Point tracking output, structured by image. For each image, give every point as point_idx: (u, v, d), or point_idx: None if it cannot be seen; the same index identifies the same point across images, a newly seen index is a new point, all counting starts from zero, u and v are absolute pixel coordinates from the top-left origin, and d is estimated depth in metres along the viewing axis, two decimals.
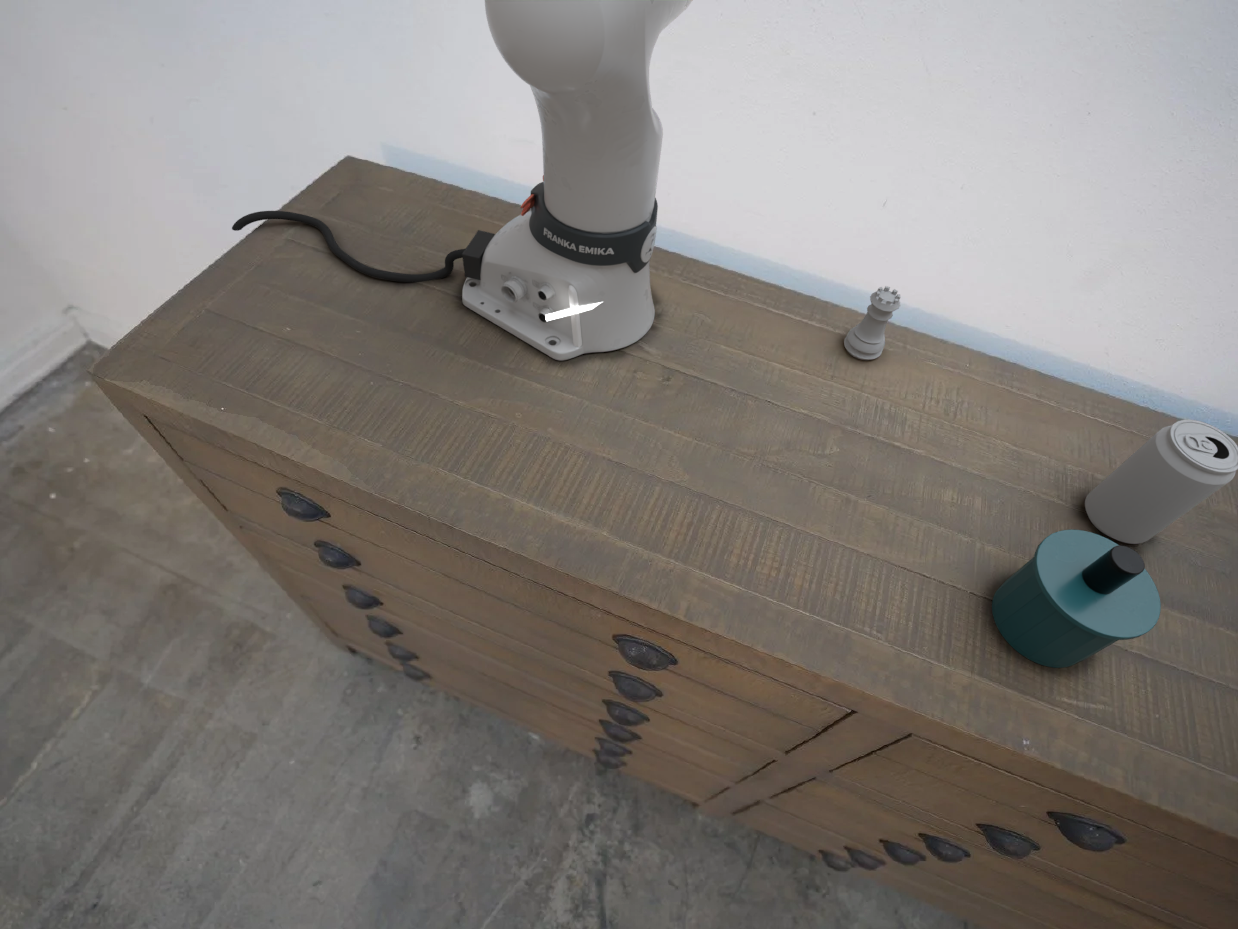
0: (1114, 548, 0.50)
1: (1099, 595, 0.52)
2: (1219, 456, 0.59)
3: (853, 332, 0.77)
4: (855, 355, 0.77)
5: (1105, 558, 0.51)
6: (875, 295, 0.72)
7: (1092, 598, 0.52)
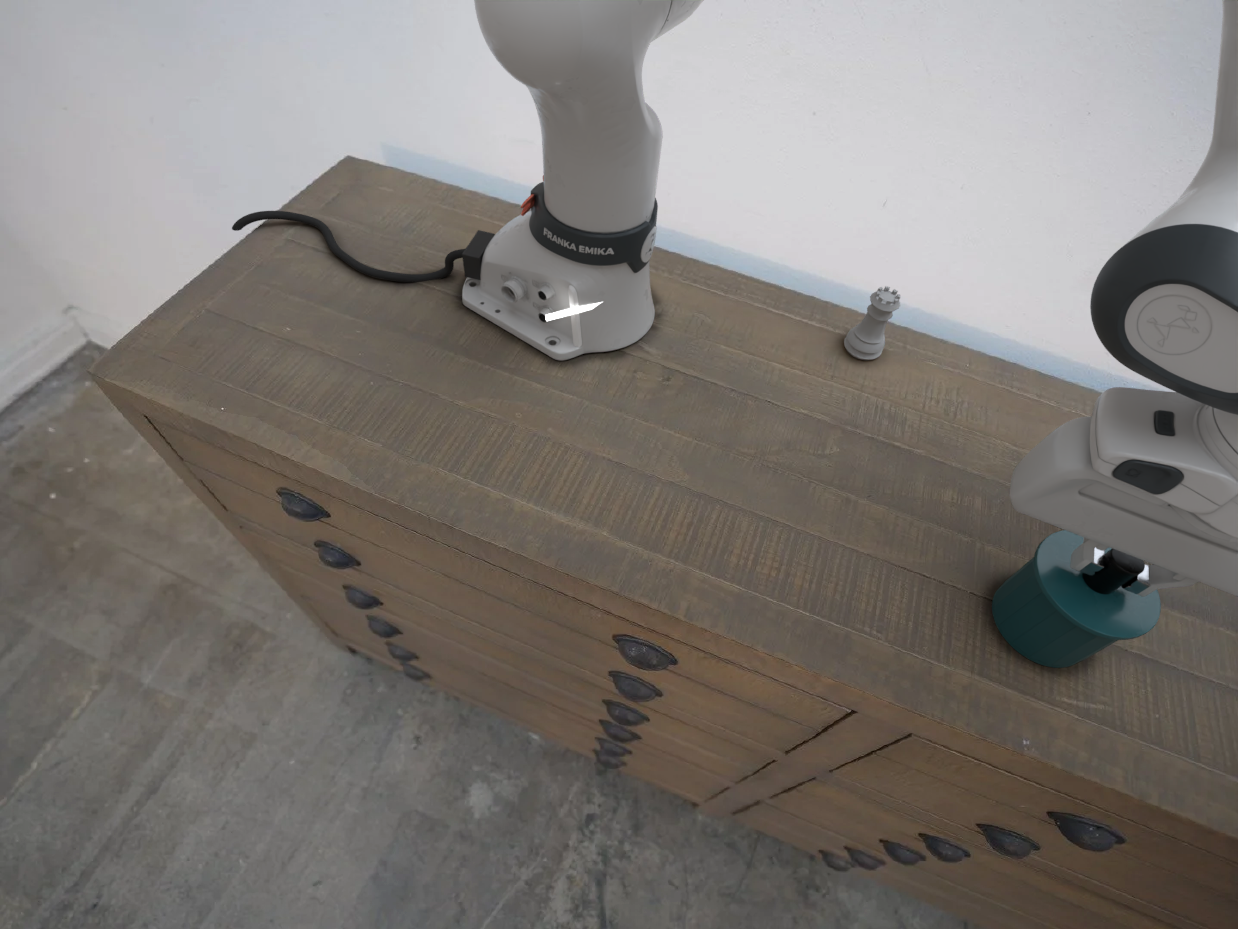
0: None
1: (1099, 595, 0.52)
2: None
3: (853, 332, 0.77)
4: (855, 355, 0.77)
5: (1105, 558, 0.51)
6: (875, 295, 0.72)
7: (1092, 598, 0.52)
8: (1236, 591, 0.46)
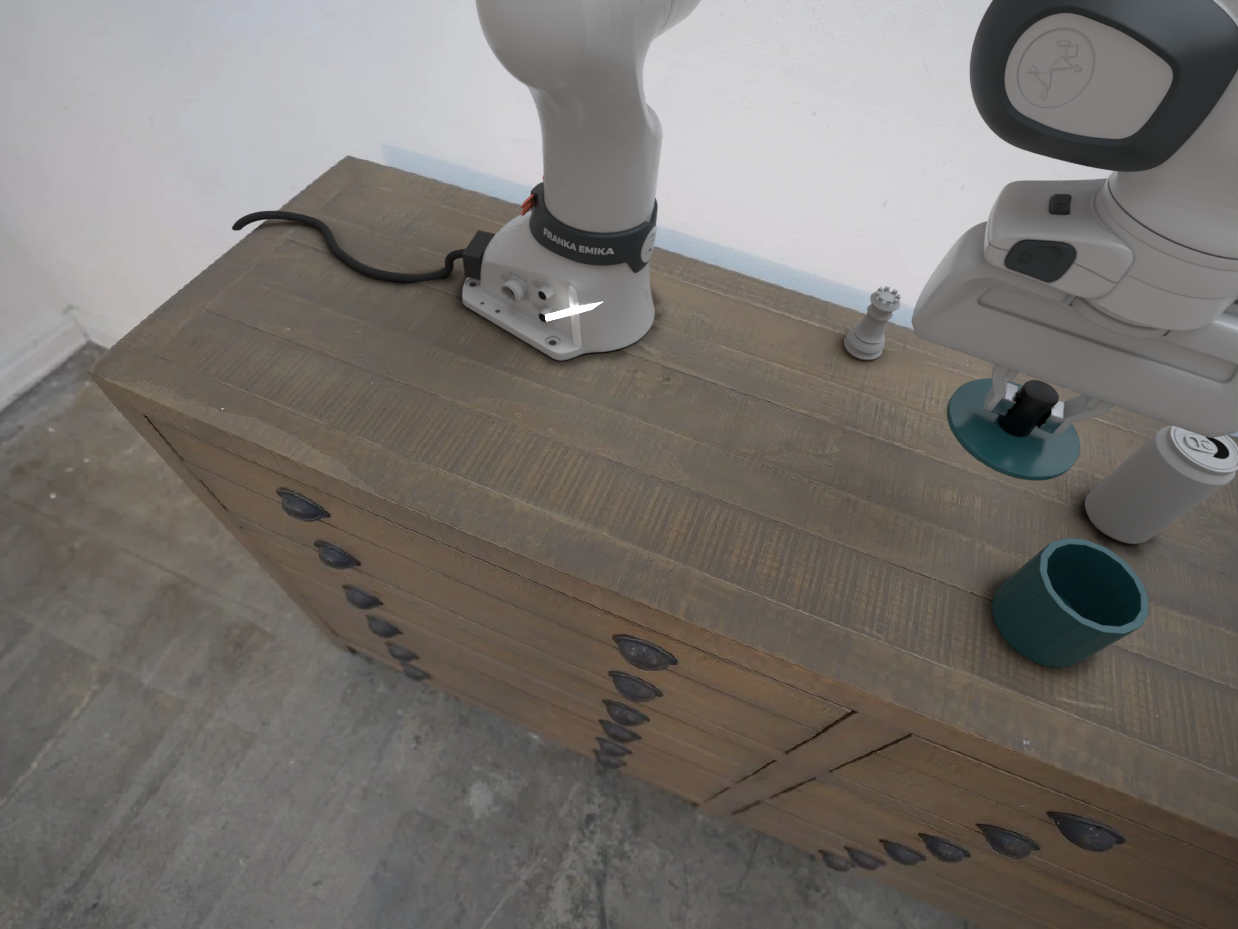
0: (1027, 382, 0.47)
1: (1014, 438, 0.48)
2: (1219, 456, 0.59)
3: (853, 332, 0.77)
4: (855, 355, 0.77)
5: (1018, 394, 0.47)
6: (875, 295, 0.72)
7: (1006, 440, 0.48)
8: (1149, 410, 0.42)
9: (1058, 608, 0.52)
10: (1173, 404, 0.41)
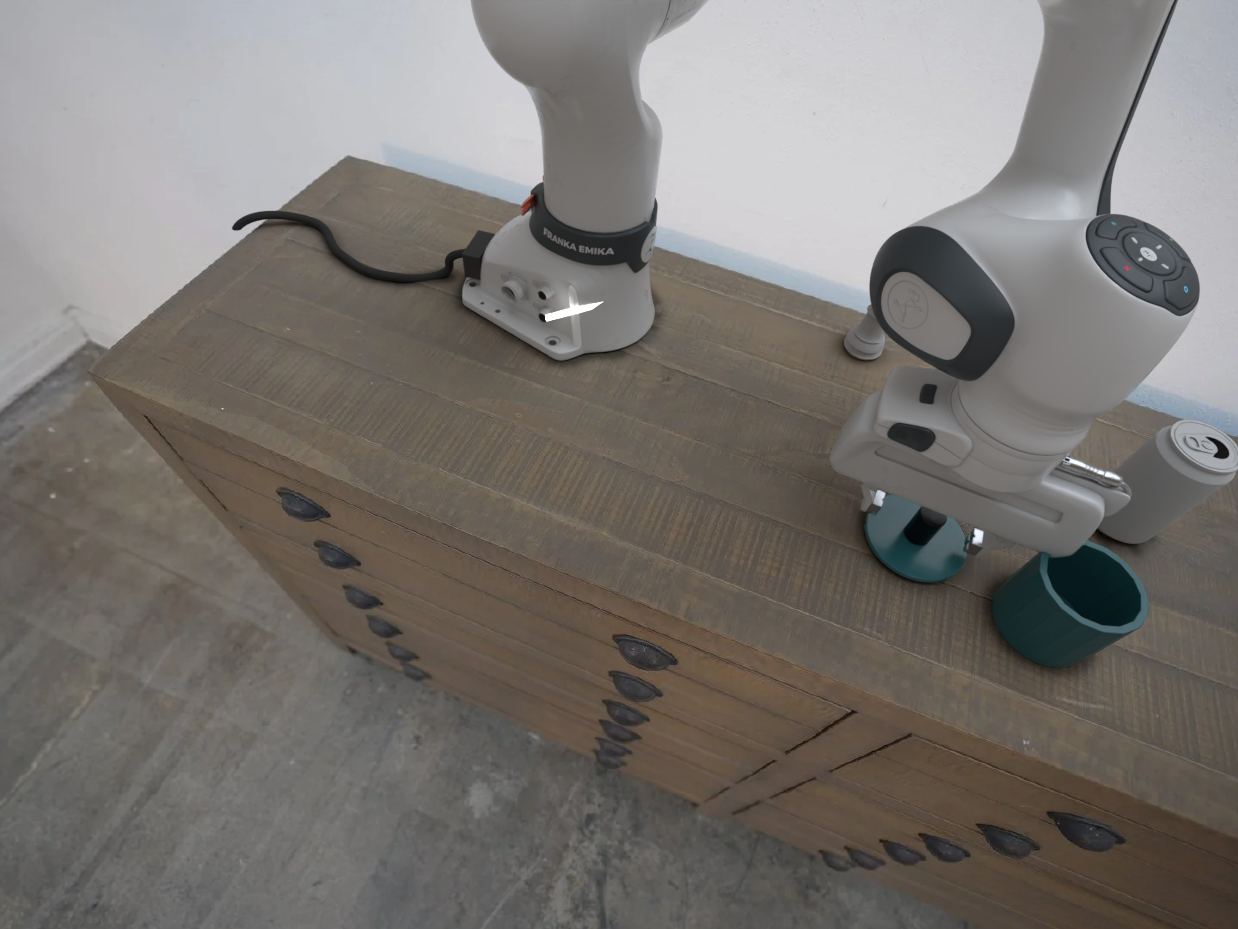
0: None
1: (915, 546, 0.62)
2: (1219, 456, 0.59)
3: (853, 332, 0.77)
4: (855, 355, 0.77)
5: (916, 514, 0.60)
6: None
7: (909, 548, 0.61)
8: (1006, 536, 0.55)
9: (1058, 608, 0.52)
10: (1022, 533, 0.54)
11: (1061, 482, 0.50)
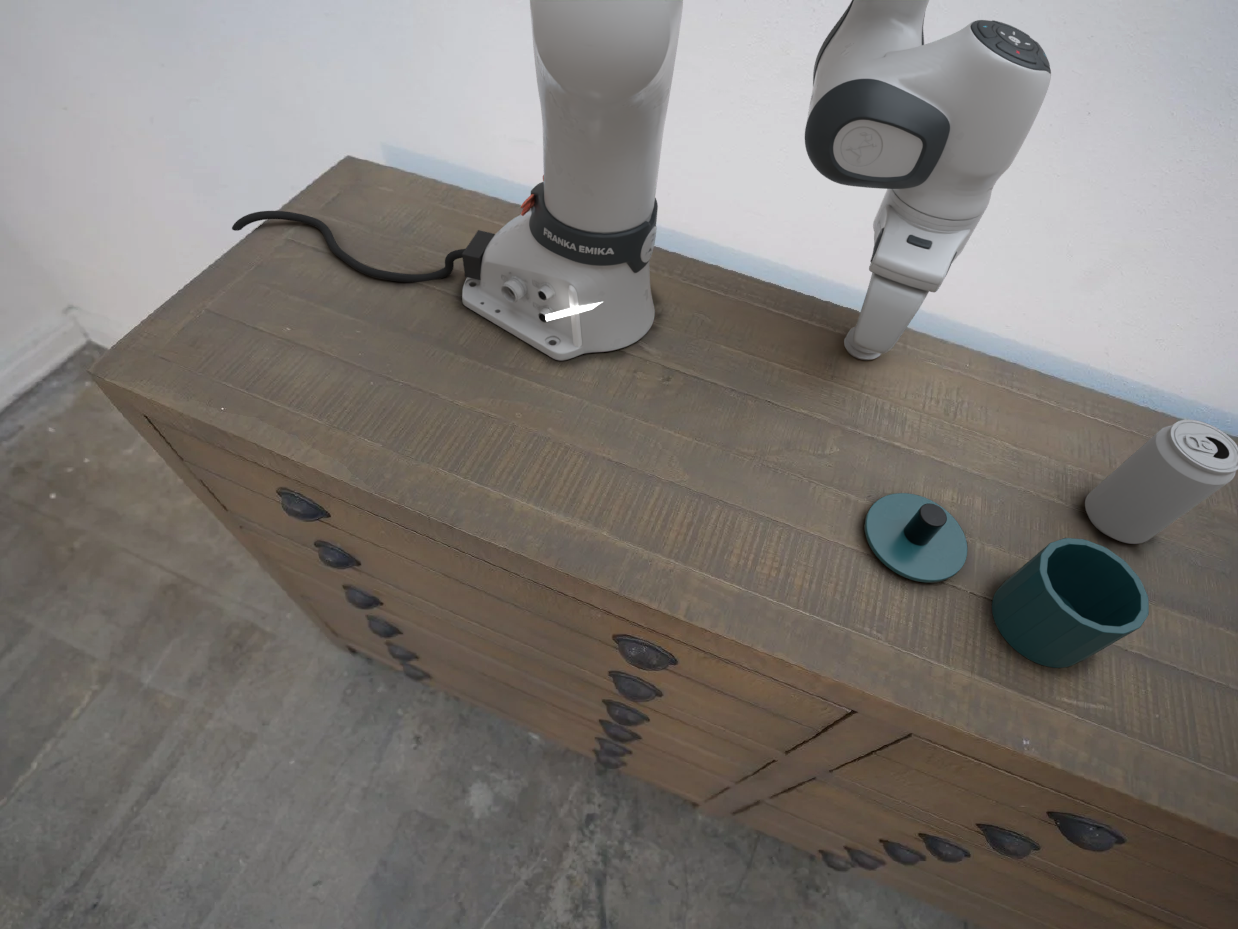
0: (923, 505, 0.60)
1: (915, 546, 0.62)
2: (1219, 456, 0.59)
3: (853, 332, 0.77)
4: (855, 355, 0.77)
5: (916, 514, 0.60)
6: None
7: (909, 548, 0.61)
8: None
9: (1058, 608, 0.52)
10: None
11: None
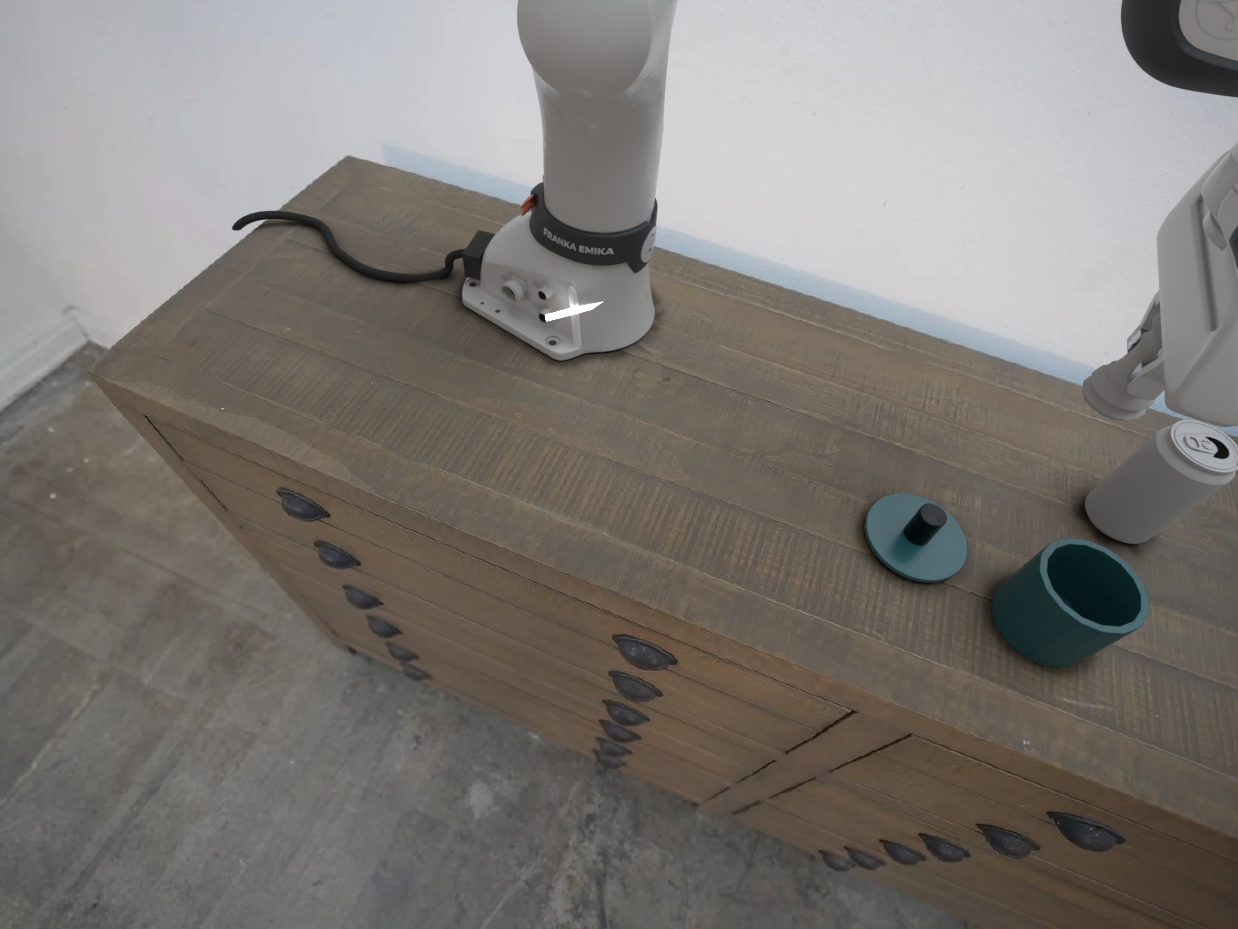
0: (923, 505, 0.60)
1: (915, 546, 0.62)
2: (1219, 456, 0.59)
3: (1104, 377, 0.48)
4: (1107, 413, 0.48)
5: (916, 514, 0.60)
6: None
7: (909, 548, 0.61)
8: None
9: (1058, 608, 0.52)
10: None
11: None
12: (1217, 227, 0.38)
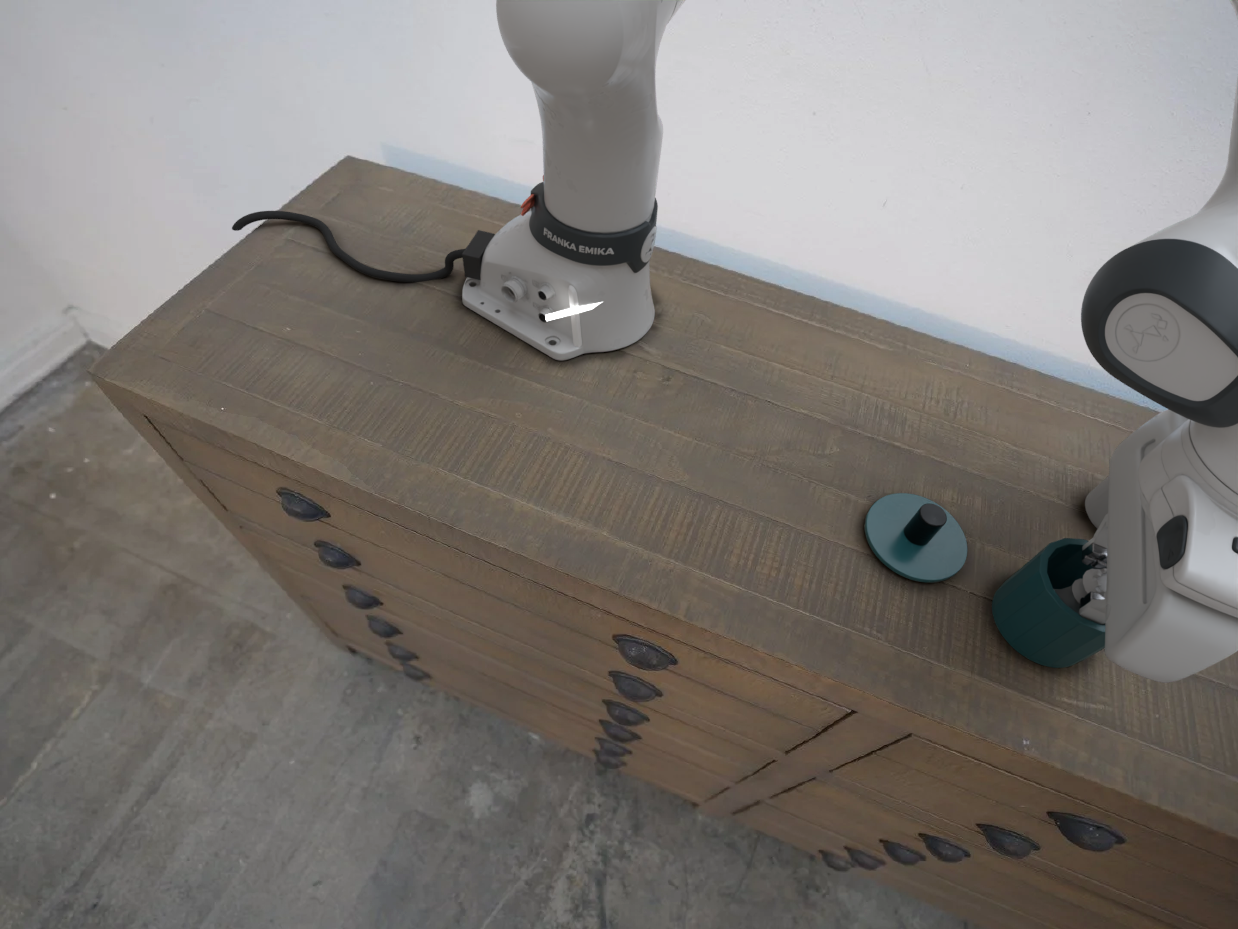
0: (923, 505, 0.60)
1: (915, 546, 0.62)
2: None
3: None
4: None
5: (916, 514, 0.60)
6: (1093, 585, 0.52)
7: (909, 548, 0.61)
8: None
9: (1058, 608, 0.52)
10: None
11: None
12: None
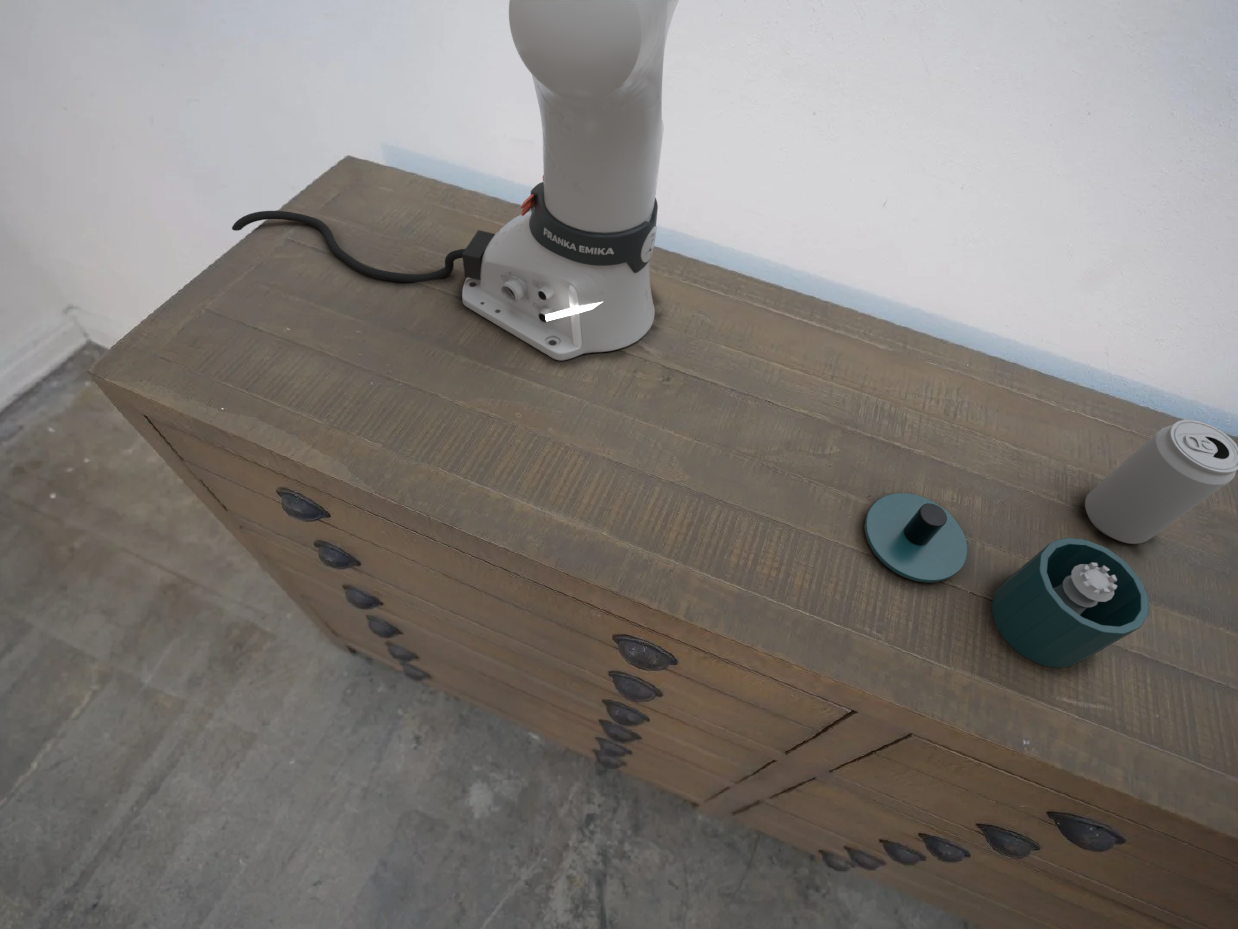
0: (923, 505, 0.60)
1: (915, 546, 0.62)
2: (1219, 456, 0.59)
3: None
4: None
5: (916, 514, 0.60)
6: (1081, 579, 0.53)
7: (909, 548, 0.61)
8: None
9: (1058, 608, 0.52)
10: None
11: None
12: None
